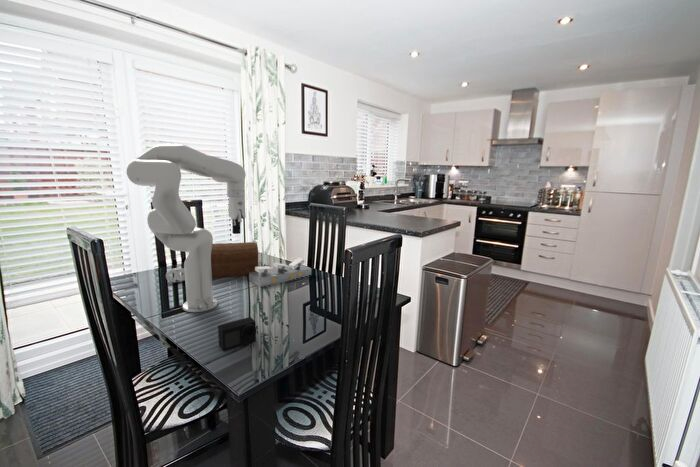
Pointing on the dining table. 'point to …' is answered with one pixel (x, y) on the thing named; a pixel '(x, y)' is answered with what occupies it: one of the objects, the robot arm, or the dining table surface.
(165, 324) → the dining table surface
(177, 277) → the pendant light
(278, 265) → the rocker mid
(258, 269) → the rocker near
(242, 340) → the digital camera
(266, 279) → the console
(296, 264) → the rocker far
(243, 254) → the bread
